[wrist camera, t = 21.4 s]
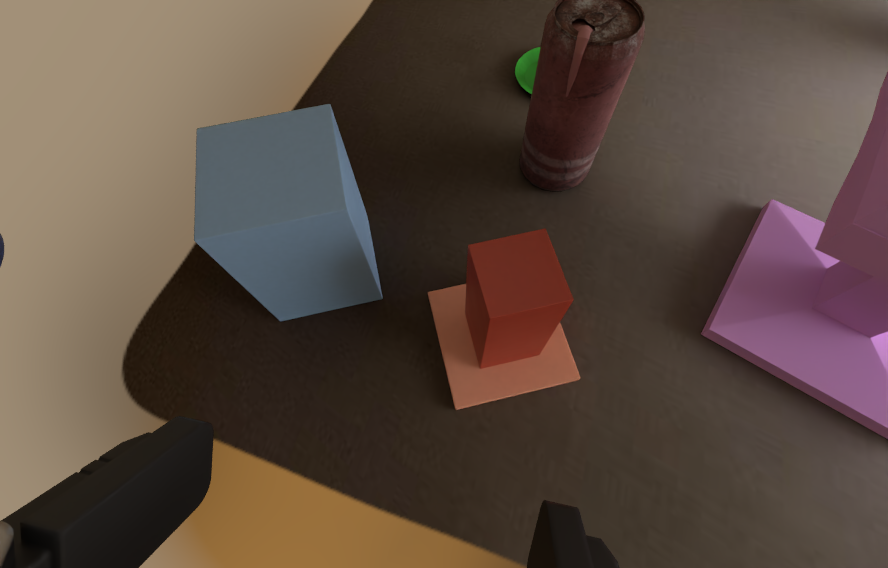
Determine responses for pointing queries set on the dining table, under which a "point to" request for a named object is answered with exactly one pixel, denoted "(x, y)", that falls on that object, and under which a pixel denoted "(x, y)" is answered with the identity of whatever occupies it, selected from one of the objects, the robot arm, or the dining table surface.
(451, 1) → the dining table surface
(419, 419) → the dining table surface
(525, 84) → the green plate with lemons
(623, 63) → the brown drink cup
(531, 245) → the red post
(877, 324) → the vase
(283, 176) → the blue stand
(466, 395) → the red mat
